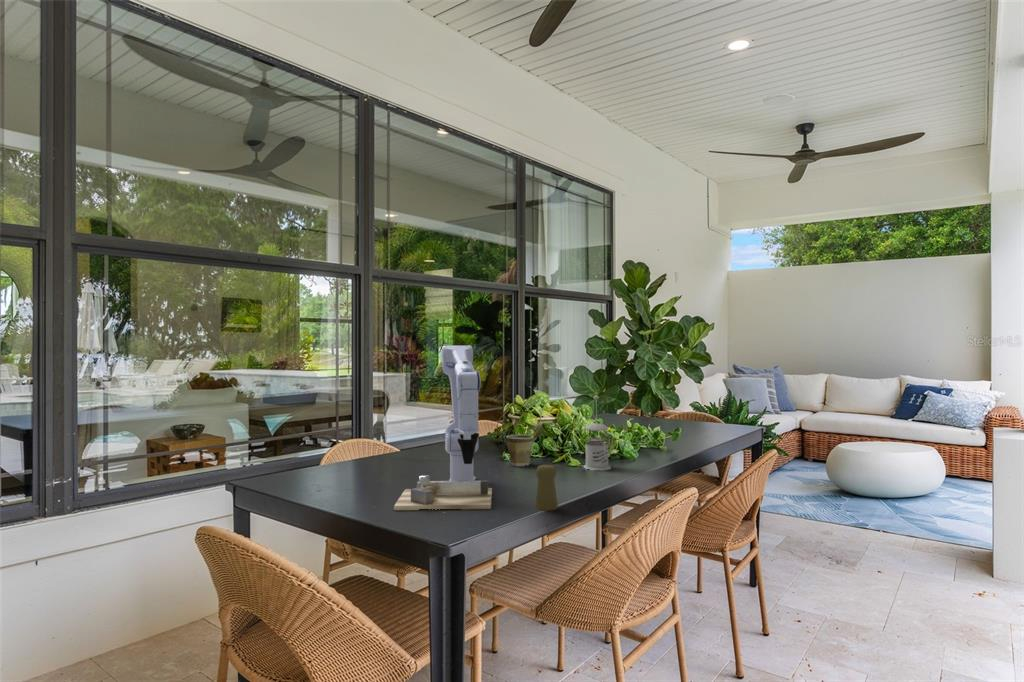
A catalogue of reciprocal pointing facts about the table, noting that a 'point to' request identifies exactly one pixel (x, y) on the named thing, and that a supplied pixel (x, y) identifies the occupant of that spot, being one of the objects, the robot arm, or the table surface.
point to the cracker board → (446, 501)
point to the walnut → (432, 490)
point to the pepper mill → (546, 488)
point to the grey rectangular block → (422, 496)
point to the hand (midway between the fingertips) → (468, 461)
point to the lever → (454, 486)
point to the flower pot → (520, 449)
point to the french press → (597, 447)
